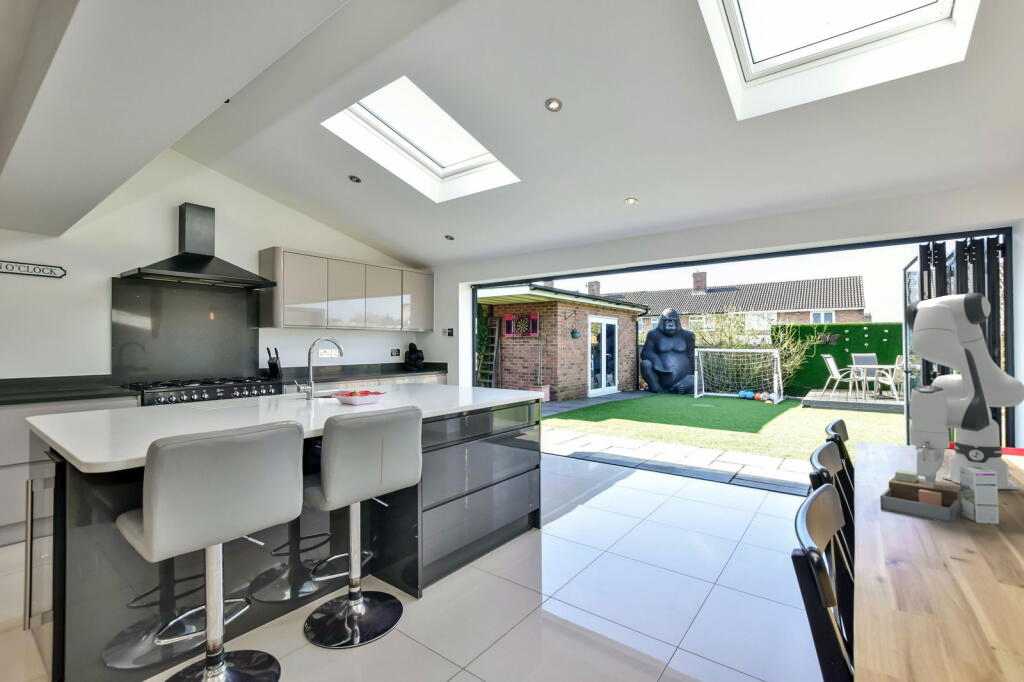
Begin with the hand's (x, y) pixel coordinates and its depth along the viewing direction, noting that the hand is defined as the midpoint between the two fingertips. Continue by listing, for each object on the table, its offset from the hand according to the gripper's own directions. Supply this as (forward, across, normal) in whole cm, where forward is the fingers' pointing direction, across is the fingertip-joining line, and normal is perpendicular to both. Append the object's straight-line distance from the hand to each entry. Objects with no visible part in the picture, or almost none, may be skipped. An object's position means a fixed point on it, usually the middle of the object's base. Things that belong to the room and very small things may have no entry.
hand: (930, 486), depth 140 cm
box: (+7, -4, +2) cm, 8 cm away
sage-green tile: (+1, +9, +7) cm, 11 cm away
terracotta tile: (+4, +1, 0) cm, 4 cm away
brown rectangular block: (+7, +8, +2) cm, 11 cm away
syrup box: (+7, -1, -10) cm, 13 cm away
